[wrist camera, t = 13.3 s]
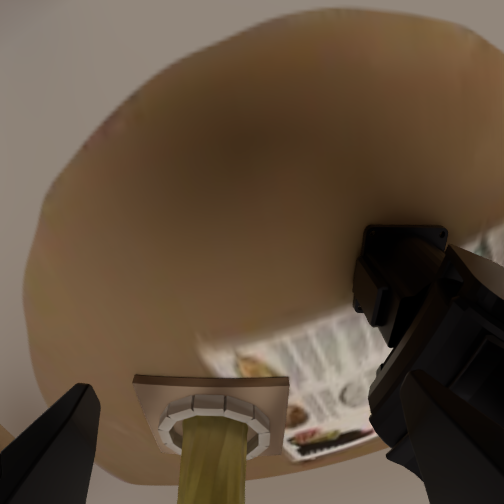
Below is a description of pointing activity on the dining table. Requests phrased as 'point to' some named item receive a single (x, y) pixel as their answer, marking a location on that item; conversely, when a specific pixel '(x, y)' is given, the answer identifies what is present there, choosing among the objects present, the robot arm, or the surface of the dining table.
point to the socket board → (215, 408)
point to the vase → (213, 461)
